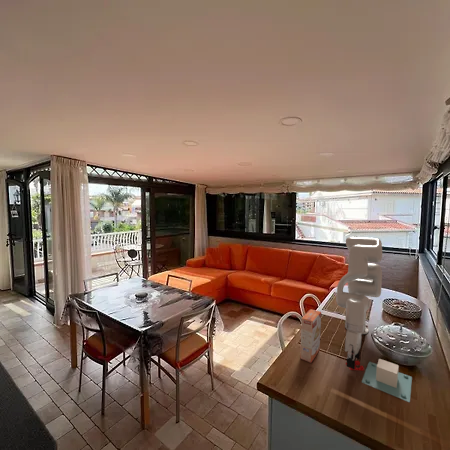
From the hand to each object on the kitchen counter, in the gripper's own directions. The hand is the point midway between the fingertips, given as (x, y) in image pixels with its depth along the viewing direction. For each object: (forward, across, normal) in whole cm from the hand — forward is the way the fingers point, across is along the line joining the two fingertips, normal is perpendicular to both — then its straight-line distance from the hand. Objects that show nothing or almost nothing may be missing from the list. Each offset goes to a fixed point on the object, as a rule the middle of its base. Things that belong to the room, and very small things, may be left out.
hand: (353, 362), depth 108 cm
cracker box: (+4, +2, -19) cm, 19 cm away
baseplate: (+3, 0, +13) cm, 13 cm away
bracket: (+4, 0, 0) cm, 4 cm away
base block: (+2, 0, +13) cm, 13 cm away
